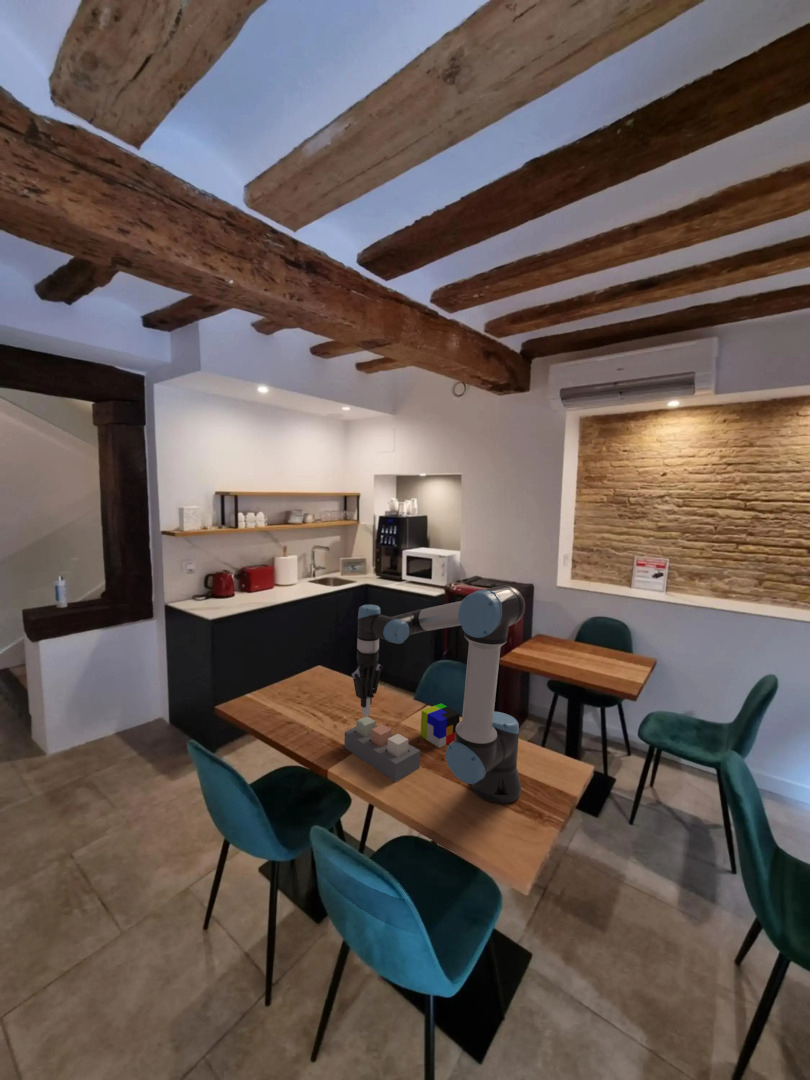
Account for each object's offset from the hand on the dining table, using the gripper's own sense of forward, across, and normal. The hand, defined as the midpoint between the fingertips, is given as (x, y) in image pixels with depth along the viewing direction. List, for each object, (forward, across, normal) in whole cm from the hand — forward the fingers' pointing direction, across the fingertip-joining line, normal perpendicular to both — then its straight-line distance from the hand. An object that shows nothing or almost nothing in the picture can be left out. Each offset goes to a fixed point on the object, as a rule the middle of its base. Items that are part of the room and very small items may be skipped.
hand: (365, 714), depth 159 cm
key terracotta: (+10, 0, +8) cm, 13 cm away
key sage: (+10, 0, 0) cm, 10 cm away
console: (+12, 0, +8) cm, 15 cm away
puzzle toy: (+12, -25, +14) cm, 31 cm away
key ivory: (+10, 0, +16) cm, 19 cm away
